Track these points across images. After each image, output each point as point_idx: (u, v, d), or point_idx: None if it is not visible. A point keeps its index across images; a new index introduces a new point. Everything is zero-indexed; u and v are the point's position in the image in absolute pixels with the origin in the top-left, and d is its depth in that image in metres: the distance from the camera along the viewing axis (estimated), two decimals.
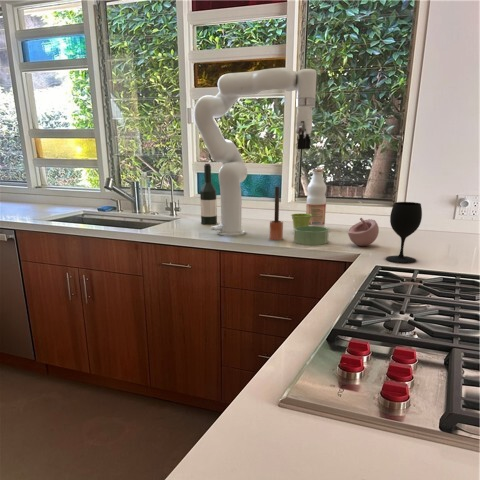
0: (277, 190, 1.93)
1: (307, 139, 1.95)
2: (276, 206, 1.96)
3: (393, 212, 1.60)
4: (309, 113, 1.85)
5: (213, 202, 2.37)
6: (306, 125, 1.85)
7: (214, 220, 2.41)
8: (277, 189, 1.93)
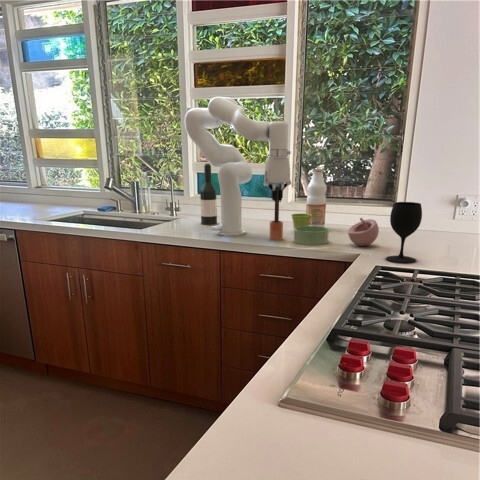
0: (277, 190, 1.93)
1: (279, 191, 1.94)
2: (276, 206, 1.96)
3: (393, 212, 1.60)
4: (272, 164, 1.88)
5: (213, 202, 2.37)
6: (267, 175, 1.89)
7: (214, 220, 2.41)
8: (277, 189, 1.93)
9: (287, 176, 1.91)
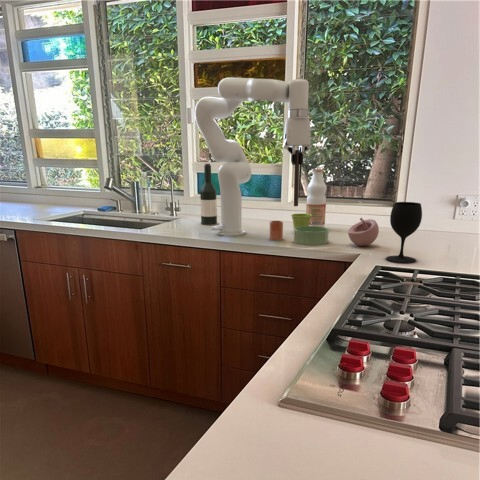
0: (297, 153, 1.85)
1: (299, 154, 1.86)
2: (296, 171, 1.87)
3: (393, 212, 1.60)
4: (292, 125, 1.79)
5: (213, 202, 2.37)
6: (287, 137, 1.81)
7: (214, 220, 2.41)
8: (297, 152, 1.85)
9: (308, 138, 1.83)
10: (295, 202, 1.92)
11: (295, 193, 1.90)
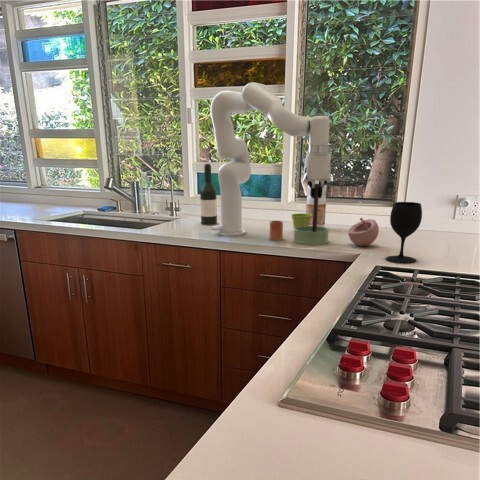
0: (317, 187, 1.87)
1: (319, 188, 1.88)
2: (315, 204, 1.89)
3: (393, 212, 1.60)
4: (313, 160, 1.81)
5: (213, 202, 2.37)
6: (307, 172, 1.83)
7: (214, 220, 2.41)
8: (317, 186, 1.87)
9: (327, 173, 1.85)
10: None
11: (314, 225, 1.93)
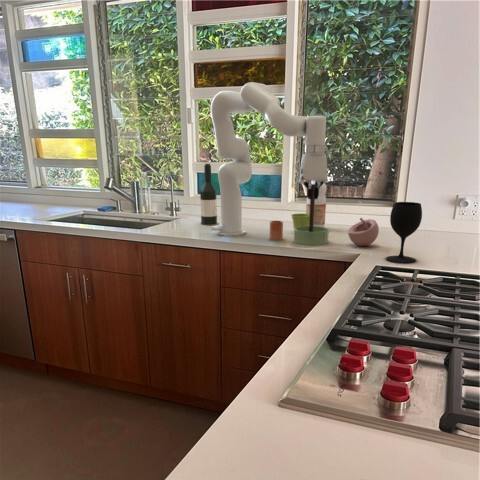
0: (313, 188, 1.84)
1: (315, 189, 1.85)
2: (312, 205, 1.87)
3: (393, 212, 1.60)
4: (309, 160, 1.79)
5: (213, 202, 2.37)
6: (303, 172, 1.80)
7: (214, 220, 2.41)
8: (313, 187, 1.84)
9: (324, 173, 1.82)
10: None
11: (310, 227, 1.90)
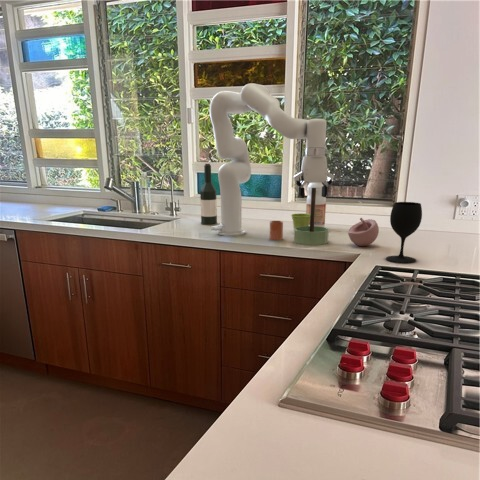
0: (314, 191, 1.87)
1: (324, 187, 1.88)
2: (312, 208, 1.90)
3: (393, 212, 1.60)
4: (310, 163, 1.81)
5: (213, 202, 2.37)
6: (304, 175, 1.83)
7: (214, 220, 2.41)
8: (314, 190, 1.87)
9: (324, 175, 1.85)
10: None
11: (311, 229, 1.93)
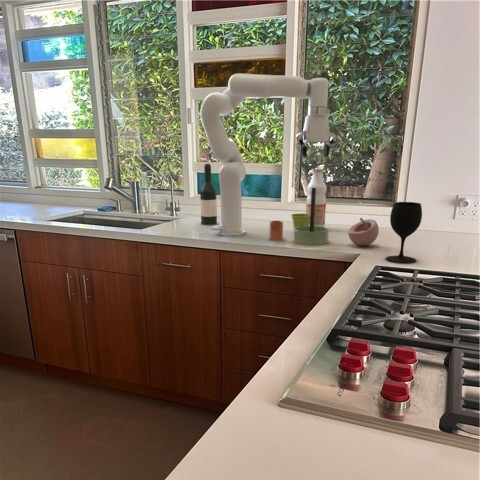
0: (314, 191, 1.87)
1: (326, 147, 1.95)
2: (312, 208, 1.90)
3: (393, 212, 1.60)
4: (312, 121, 1.88)
5: (213, 202, 2.37)
6: (306, 133, 1.89)
7: (214, 220, 2.41)
8: (314, 190, 1.87)
9: (326, 135, 1.91)
10: None
11: (311, 229, 1.93)
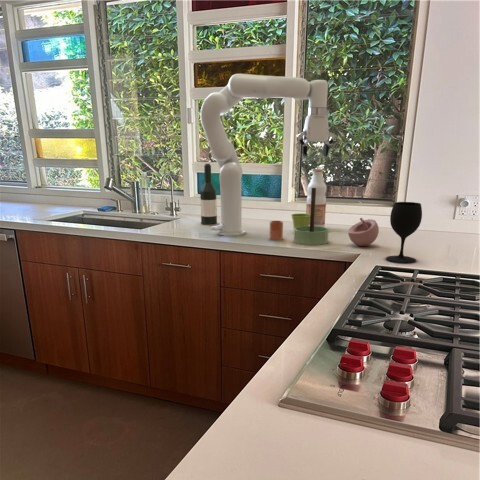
0: (314, 191, 1.87)
1: (325, 146, 2.01)
2: (312, 208, 1.90)
3: (393, 212, 1.60)
4: (312, 122, 1.94)
5: (213, 202, 2.37)
6: (307, 133, 1.96)
7: (214, 220, 2.41)
8: (314, 190, 1.87)
9: (326, 135, 1.97)
10: None
11: (311, 229, 1.93)
